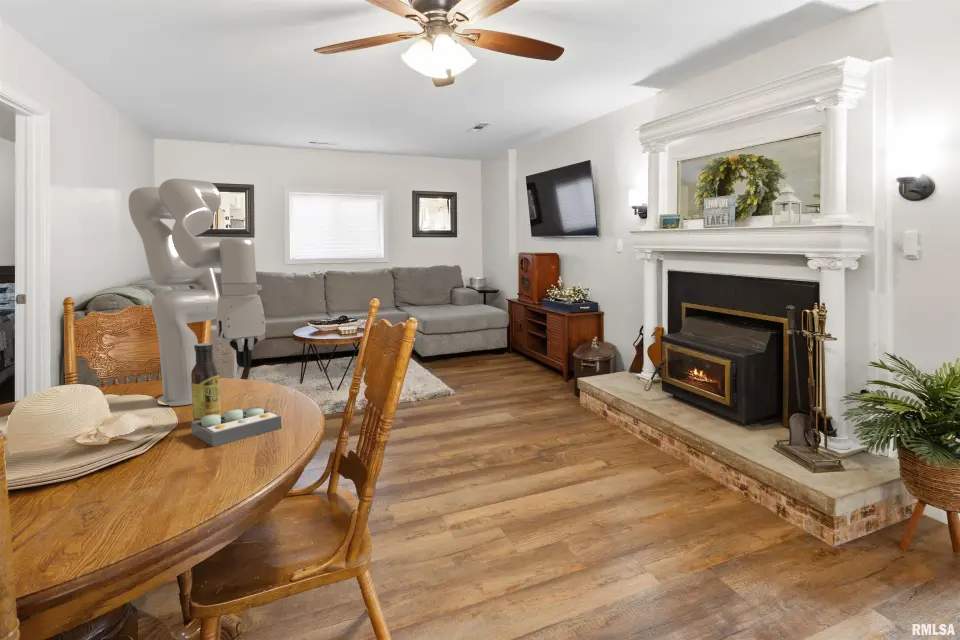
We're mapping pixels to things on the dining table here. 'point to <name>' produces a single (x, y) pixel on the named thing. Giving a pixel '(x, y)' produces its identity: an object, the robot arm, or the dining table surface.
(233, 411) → the middle button
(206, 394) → the sauce bottle
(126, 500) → the dining table surface
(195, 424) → the button board
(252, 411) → the end button
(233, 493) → the dining table surface
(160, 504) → the dining table surface
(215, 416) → the end button
